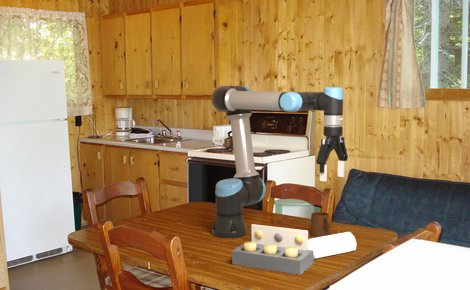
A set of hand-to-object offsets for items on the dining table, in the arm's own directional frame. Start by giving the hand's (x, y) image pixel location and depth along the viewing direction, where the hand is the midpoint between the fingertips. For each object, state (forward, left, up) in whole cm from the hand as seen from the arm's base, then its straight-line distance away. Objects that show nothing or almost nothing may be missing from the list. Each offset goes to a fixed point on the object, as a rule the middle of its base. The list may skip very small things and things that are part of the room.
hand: (332, 178), depth 216 cm
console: (-11, -35, -26) cm, 45 cm away
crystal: (+3, -13, -27) cm, 30 cm away
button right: (-3, -37, -23) cm, 44 cm away
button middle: (-11, -37, -23) cm, 45 cm away
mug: (-7, +8, -27) cm, 29 cm away
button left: (-19, -37, -23) cm, 48 cm away
